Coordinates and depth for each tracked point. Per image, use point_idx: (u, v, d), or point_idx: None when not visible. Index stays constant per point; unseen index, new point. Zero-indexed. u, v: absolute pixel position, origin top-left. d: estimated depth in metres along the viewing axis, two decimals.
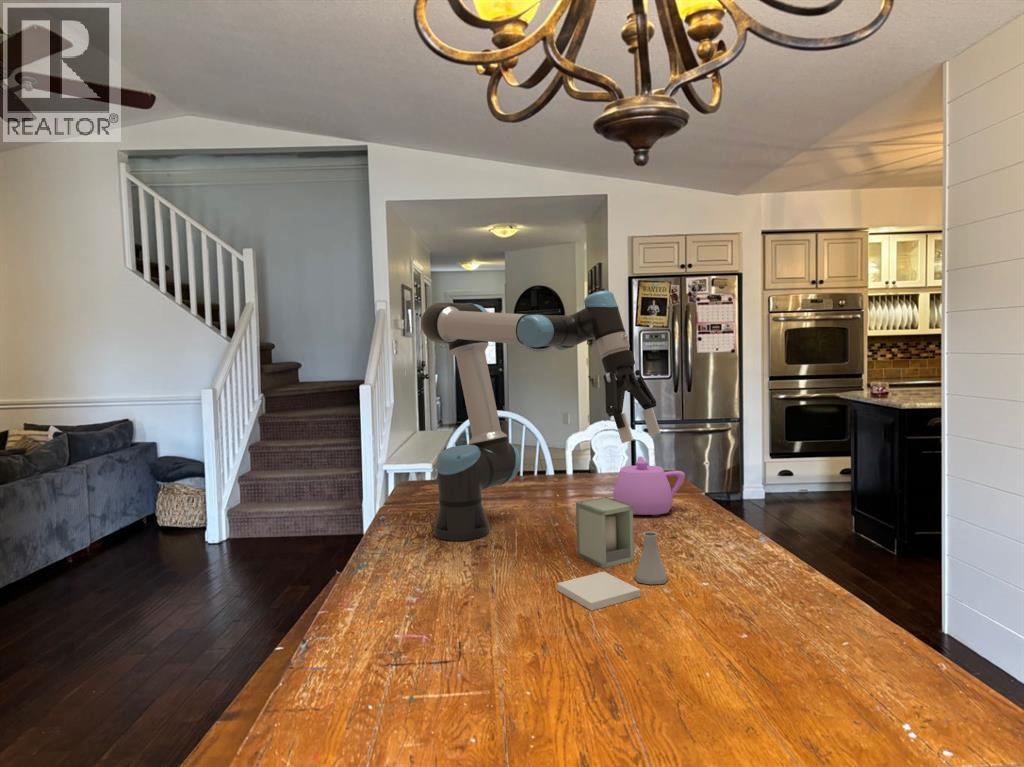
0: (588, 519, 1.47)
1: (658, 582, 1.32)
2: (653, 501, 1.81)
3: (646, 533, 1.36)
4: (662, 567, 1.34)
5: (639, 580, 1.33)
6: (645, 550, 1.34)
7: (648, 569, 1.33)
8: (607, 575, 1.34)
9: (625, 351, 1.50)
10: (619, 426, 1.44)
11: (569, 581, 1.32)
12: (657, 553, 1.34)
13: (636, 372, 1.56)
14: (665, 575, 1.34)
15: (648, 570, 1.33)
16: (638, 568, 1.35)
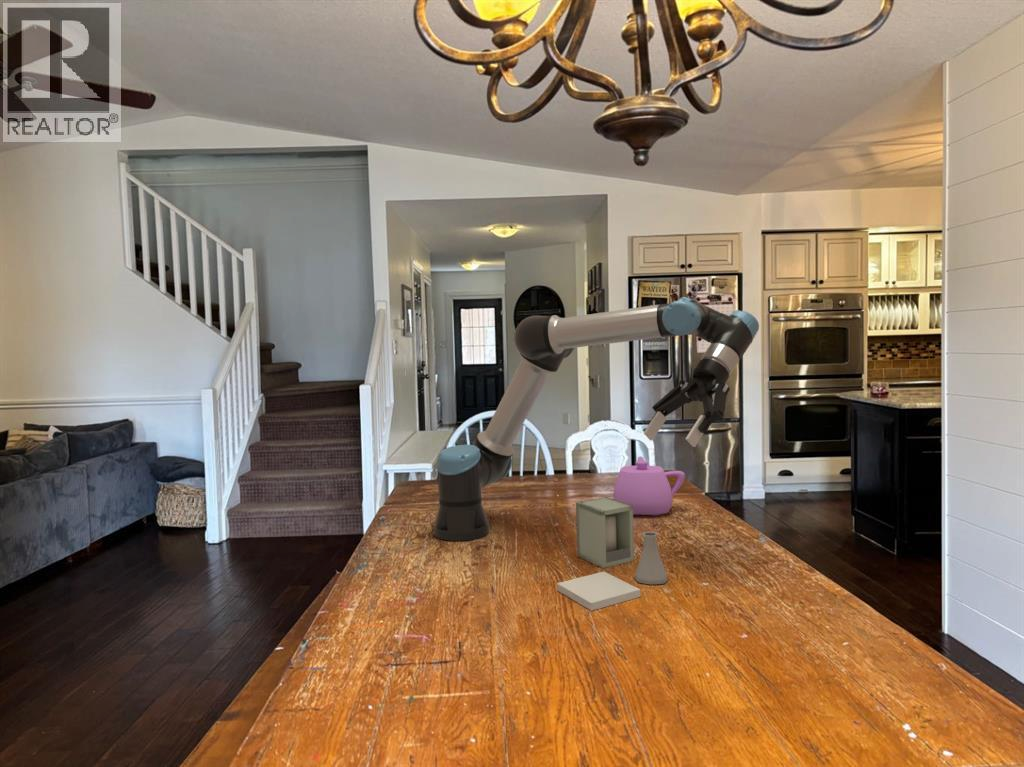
0: (588, 519, 1.47)
1: (658, 582, 1.32)
2: (653, 501, 1.81)
3: (646, 533, 1.36)
4: (662, 567, 1.34)
5: (639, 580, 1.33)
6: (645, 550, 1.34)
7: (648, 569, 1.33)
8: (607, 575, 1.34)
9: None
10: (704, 429, 1.34)
11: (569, 581, 1.32)
12: (657, 553, 1.34)
13: None
14: (665, 575, 1.34)
15: (648, 570, 1.33)
16: (638, 568, 1.35)
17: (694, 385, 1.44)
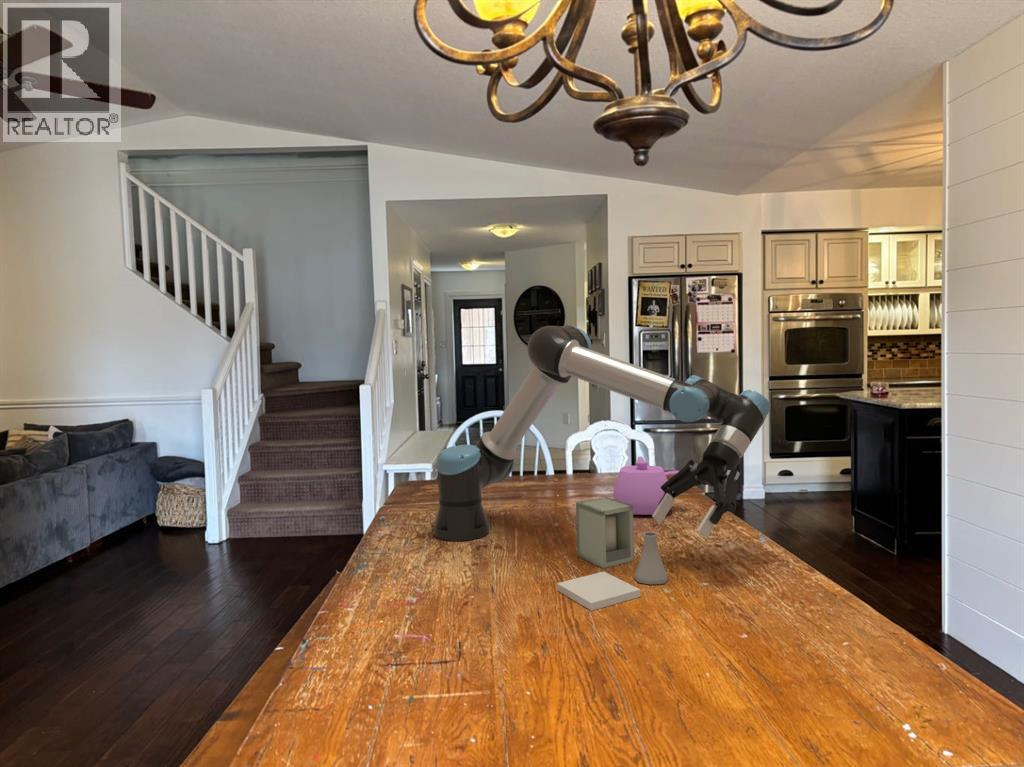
0: (588, 519, 1.47)
1: (658, 582, 1.32)
2: (653, 501, 1.81)
3: (646, 533, 1.36)
4: (662, 567, 1.34)
5: (639, 580, 1.33)
6: (645, 550, 1.34)
7: (648, 569, 1.33)
8: (607, 575, 1.34)
9: None
10: (716, 521, 1.31)
11: (569, 581, 1.32)
12: (657, 553, 1.34)
13: None
14: (665, 575, 1.34)
15: (648, 570, 1.33)
16: (638, 568, 1.35)
17: (704, 469, 1.41)
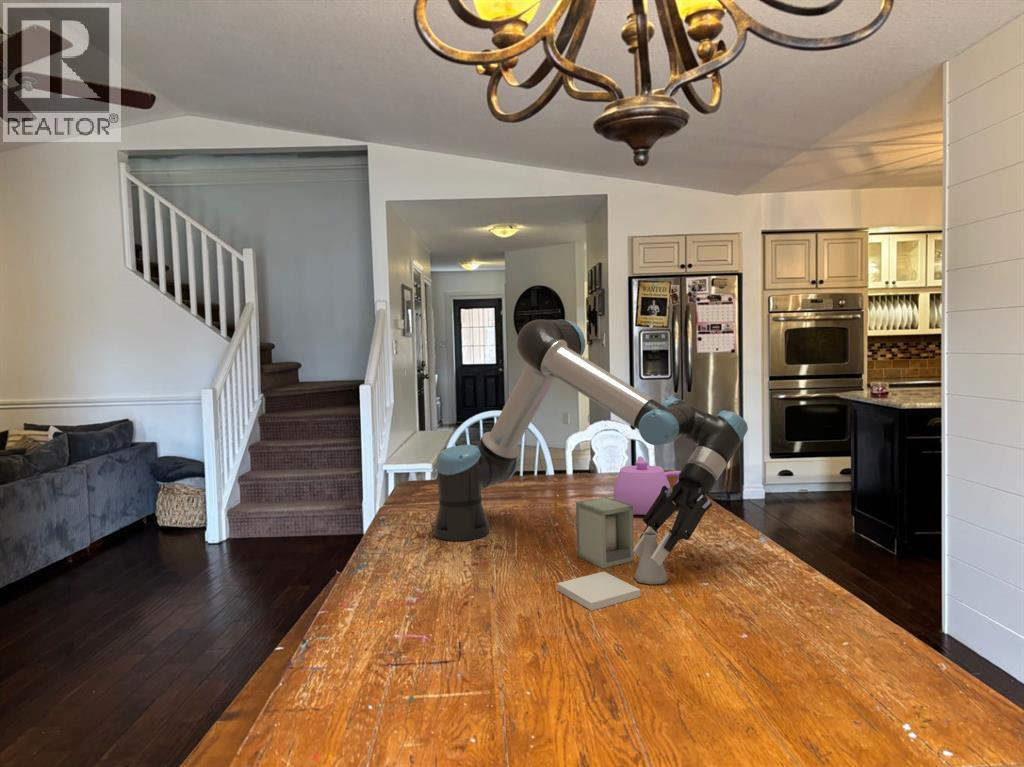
0: (588, 519, 1.47)
1: (658, 582, 1.32)
2: (653, 501, 1.81)
3: (646, 533, 1.36)
4: (662, 567, 1.34)
5: (639, 580, 1.33)
6: (645, 550, 1.34)
7: (649, 569, 1.33)
8: (607, 575, 1.34)
9: None
10: (670, 549, 1.32)
11: (569, 581, 1.32)
12: None
13: None
14: (665, 575, 1.34)
15: (648, 569, 1.33)
16: (638, 568, 1.35)
17: (680, 490, 1.39)
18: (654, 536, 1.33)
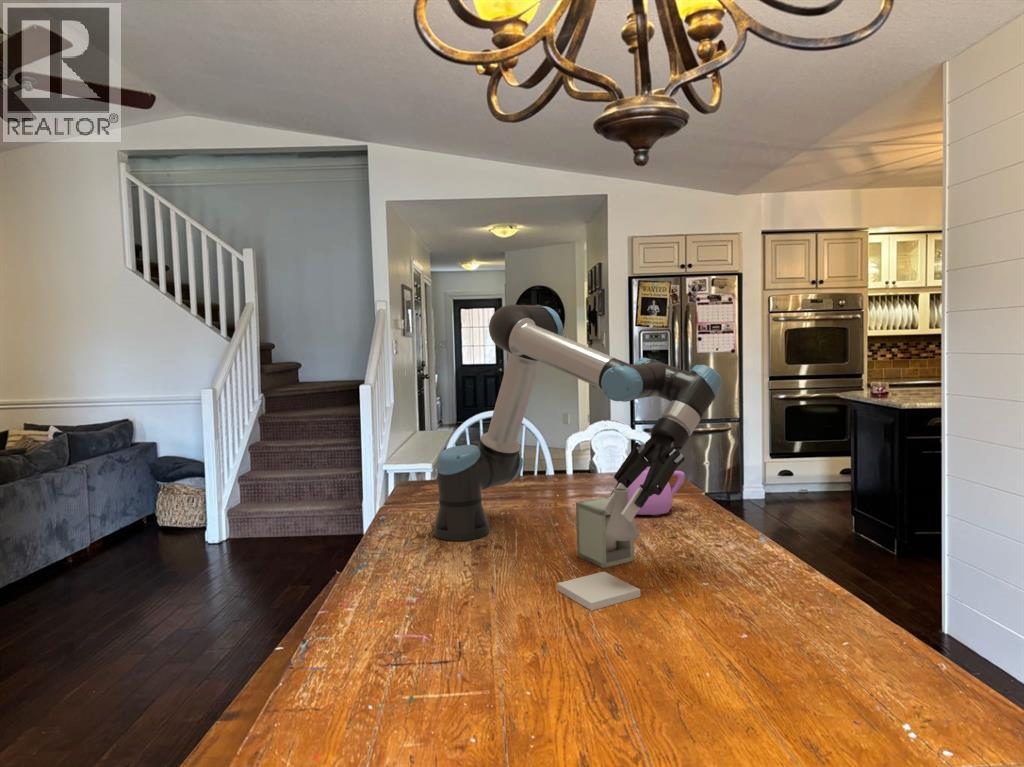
0: (588, 519, 1.47)
1: (629, 539, 1.27)
2: (653, 501, 1.81)
3: (617, 489, 1.31)
4: (633, 523, 1.29)
5: (609, 537, 1.28)
6: (616, 506, 1.29)
7: (619, 525, 1.28)
8: (607, 575, 1.34)
9: None
10: (641, 504, 1.27)
11: (569, 581, 1.32)
12: None
13: None
14: (636, 532, 1.29)
15: (619, 526, 1.28)
16: (608, 525, 1.30)
17: (652, 445, 1.34)
18: (625, 491, 1.28)
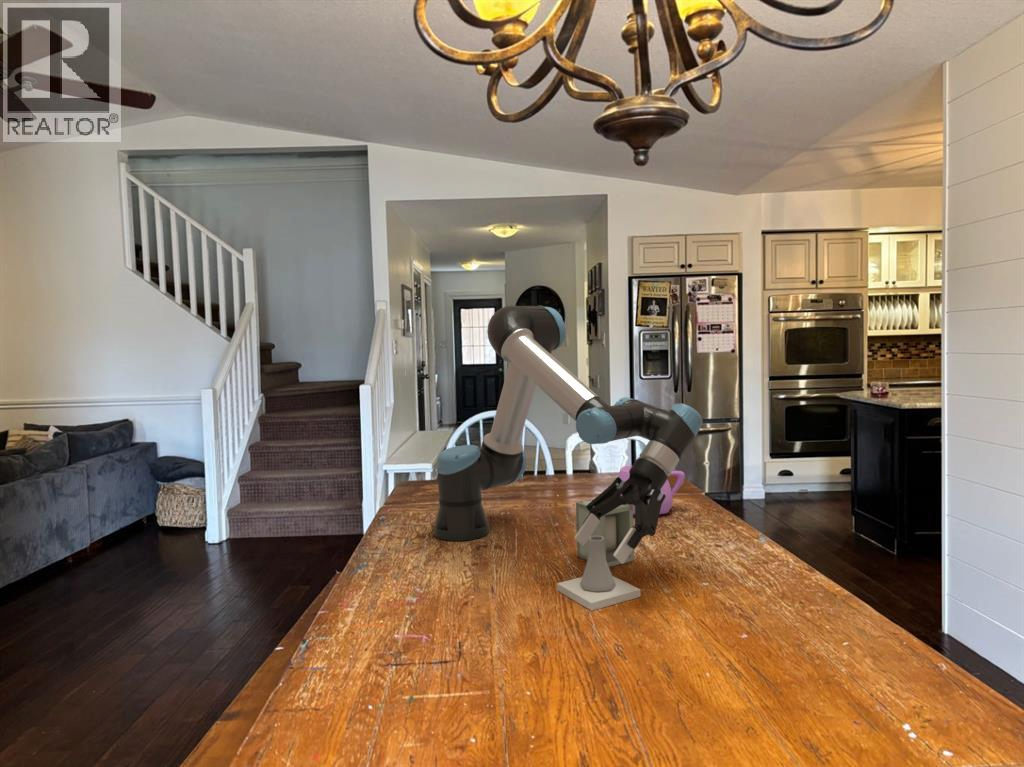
0: None
1: (604, 589, 1.26)
2: None
3: (592, 537, 1.29)
4: (609, 573, 1.27)
5: (584, 587, 1.27)
6: (591, 555, 1.27)
7: (594, 575, 1.26)
8: None
9: None
10: (634, 545, 1.22)
11: (569, 581, 1.32)
12: (603, 558, 1.27)
13: None
14: (611, 582, 1.27)
15: (594, 576, 1.26)
16: (584, 574, 1.28)
17: (629, 487, 1.33)
18: (600, 540, 1.27)
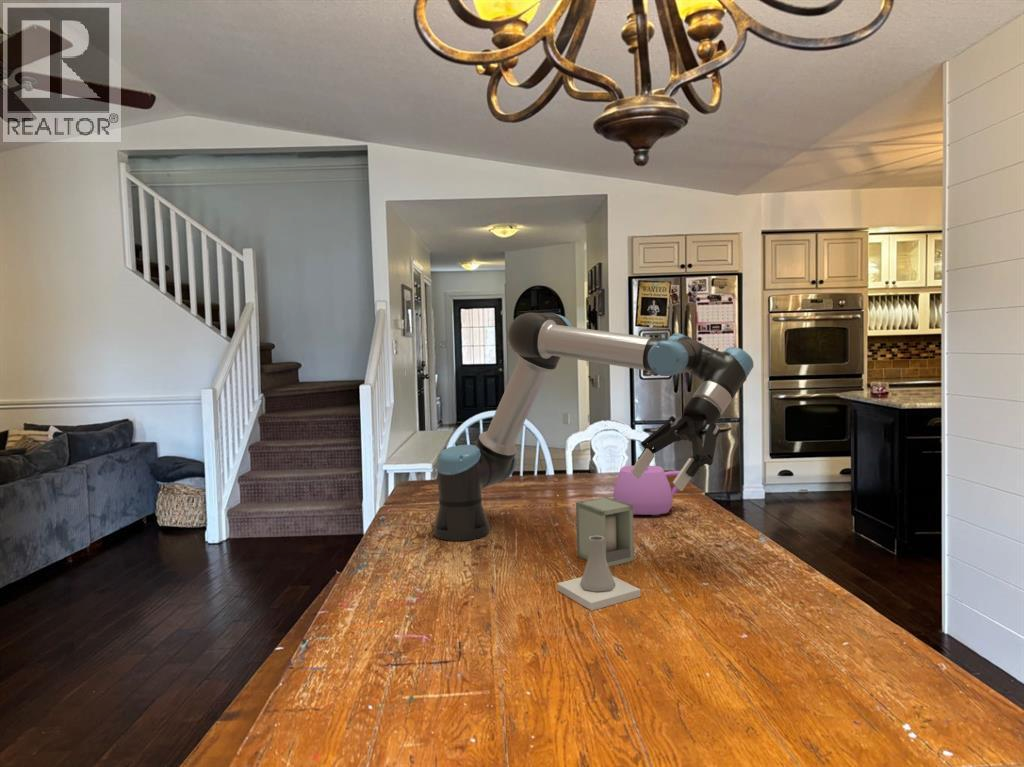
0: (588, 519, 1.47)
1: (604, 589, 1.26)
2: (653, 501, 1.81)
3: (592, 537, 1.29)
4: (609, 573, 1.27)
5: (584, 587, 1.27)
6: (591, 555, 1.27)
7: (594, 575, 1.26)
8: None
9: None
10: (692, 473, 1.30)
11: (569, 581, 1.32)
12: (603, 558, 1.27)
13: None
14: (611, 582, 1.27)
15: (594, 576, 1.26)
16: (584, 574, 1.28)
17: (684, 424, 1.40)
18: (600, 540, 1.27)
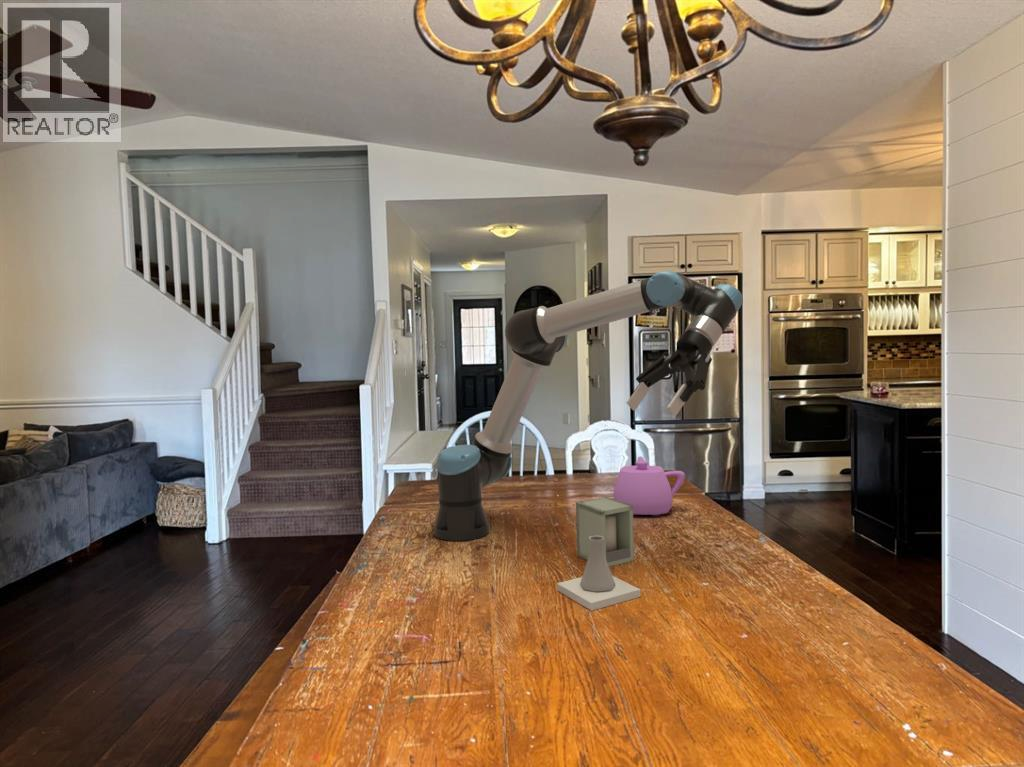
0: (588, 519, 1.47)
1: (604, 589, 1.26)
2: (653, 501, 1.81)
3: (592, 537, 1.29)
4: (609, 573, 1.27)
5: (584, 587, 1.27)
6: (591, 555, 1.27)
7: (594, 575, 1.26)
8: None
9: None
10: (686, 398, 1.35)
11: (569, 581, 1.32)
12: (603, 558, 1.27)
13: None
14: (611, 582, 1.27)
15: (594, 576, 1.26)
16: (584, 574, 1.28)
17: (677, 356, 1.46)
18: (600, 540, 1.27)
